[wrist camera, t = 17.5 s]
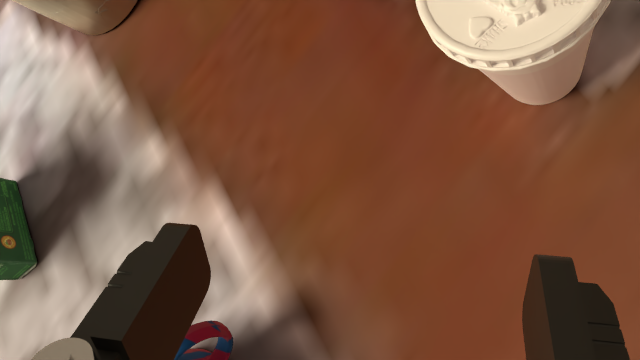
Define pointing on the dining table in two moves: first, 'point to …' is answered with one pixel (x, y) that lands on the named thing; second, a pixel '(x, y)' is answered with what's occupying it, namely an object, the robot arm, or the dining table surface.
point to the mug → (201, 331)
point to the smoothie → (517, 41)
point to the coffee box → (14, 234)
